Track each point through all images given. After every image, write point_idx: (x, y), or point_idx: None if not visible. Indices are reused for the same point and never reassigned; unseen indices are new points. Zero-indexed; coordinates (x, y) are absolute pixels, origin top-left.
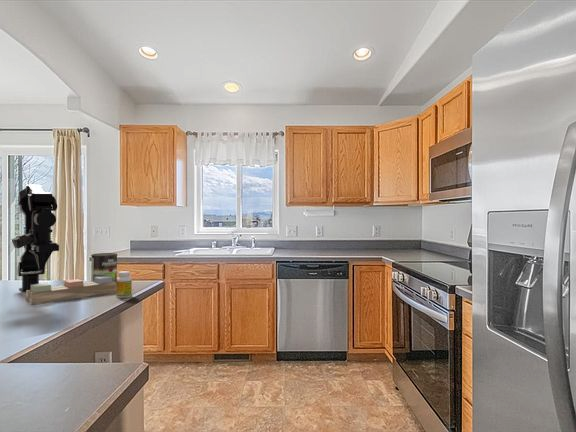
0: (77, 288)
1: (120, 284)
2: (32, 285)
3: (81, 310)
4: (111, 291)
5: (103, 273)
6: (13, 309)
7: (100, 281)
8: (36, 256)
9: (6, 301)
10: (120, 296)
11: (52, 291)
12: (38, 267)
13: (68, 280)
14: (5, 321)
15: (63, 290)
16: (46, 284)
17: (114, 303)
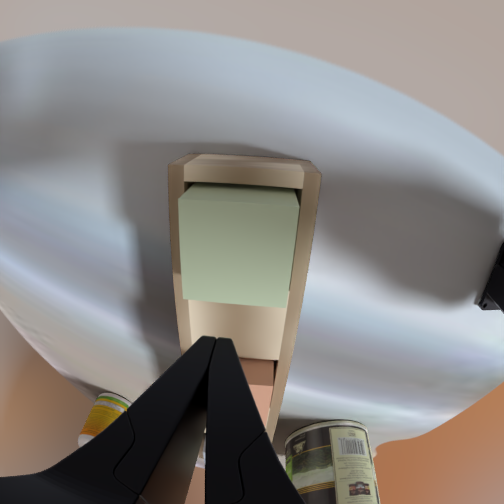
0: None
1: (85, 426)
2: (253, 205)
3: (7, 259)
4: None
5: (294, 480)
6: (155, 62)
7: (204, 443)
8: (208, 497)
9: (389, 96)
10: (100, 396)
11: (175, 276)
12: (226, 349)
13: (261, 397)
14: (13, 41)
15: (179, 323)
16: (217, 285)
17: (48, 350)
